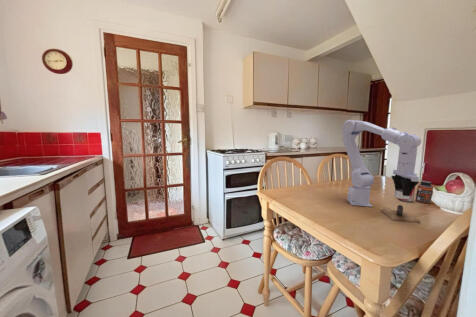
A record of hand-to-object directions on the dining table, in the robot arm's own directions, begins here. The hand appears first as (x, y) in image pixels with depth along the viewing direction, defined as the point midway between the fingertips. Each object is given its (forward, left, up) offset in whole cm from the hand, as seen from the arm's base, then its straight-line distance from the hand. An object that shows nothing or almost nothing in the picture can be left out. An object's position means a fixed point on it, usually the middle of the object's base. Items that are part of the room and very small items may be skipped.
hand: (402, 193), depth 84 cm
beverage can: (+15, +25, -11) cm, 31 cm away
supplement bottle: (+23, +25, -11) cm, 35 cm away
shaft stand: (0, 0, -10) cm, 10 cm away
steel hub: (0, 0, -2) cm, 2 cm away
